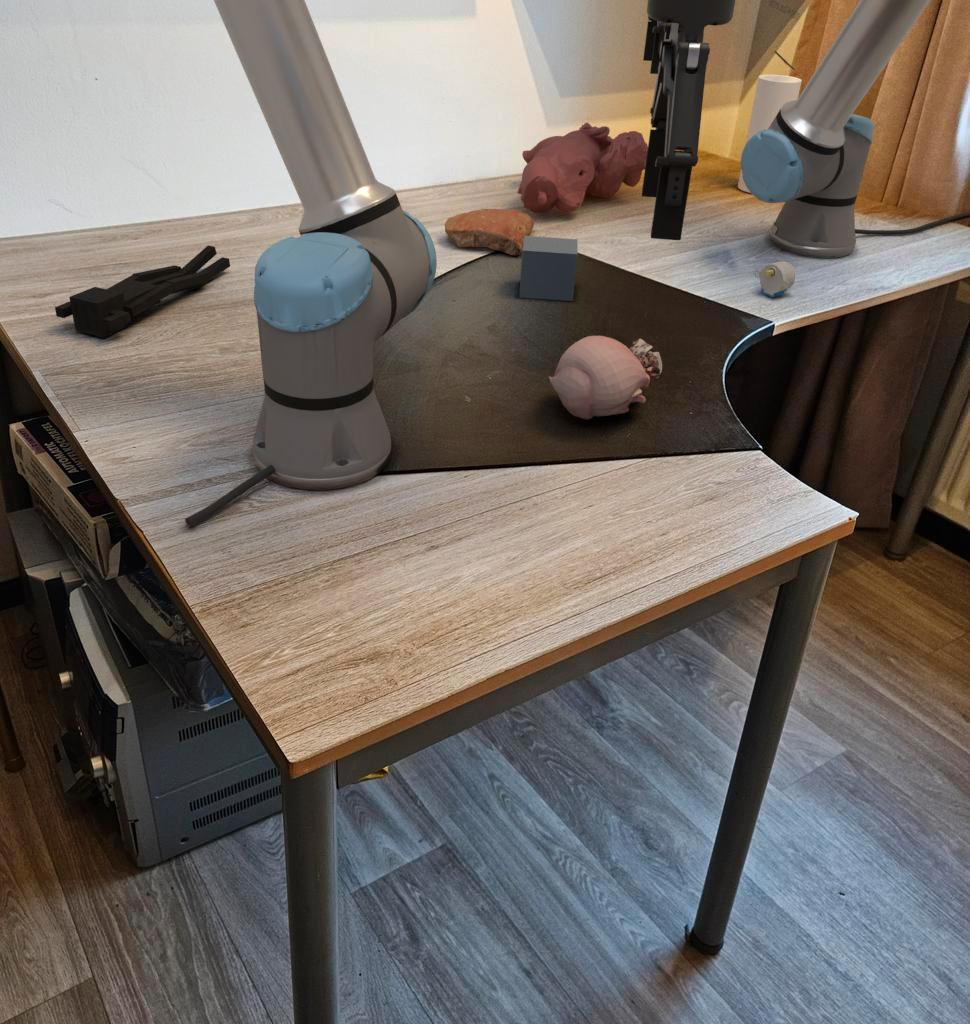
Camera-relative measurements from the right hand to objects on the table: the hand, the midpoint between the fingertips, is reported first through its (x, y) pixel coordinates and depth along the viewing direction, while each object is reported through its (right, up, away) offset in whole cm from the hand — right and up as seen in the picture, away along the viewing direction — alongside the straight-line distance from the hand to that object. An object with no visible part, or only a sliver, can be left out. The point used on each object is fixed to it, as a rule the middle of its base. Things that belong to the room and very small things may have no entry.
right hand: (654, 67), depth 174 cm
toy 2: (-17, -68, -54) cm, 89 cm away
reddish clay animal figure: (-13, -19, +18) cm, 29 cm away
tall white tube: (+27, -11, +33) cm, 44 cm away
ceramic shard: (-30, -32, -3) cm, 44 cm away
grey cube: (-21, -46, -22) cm, 55 cm away
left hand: (-13, -52, -80) cm, 96 cm away
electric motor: (+15, -46, -19) cm, 52 cm away
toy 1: (-79, -50, -32) cm, 99 cm away
